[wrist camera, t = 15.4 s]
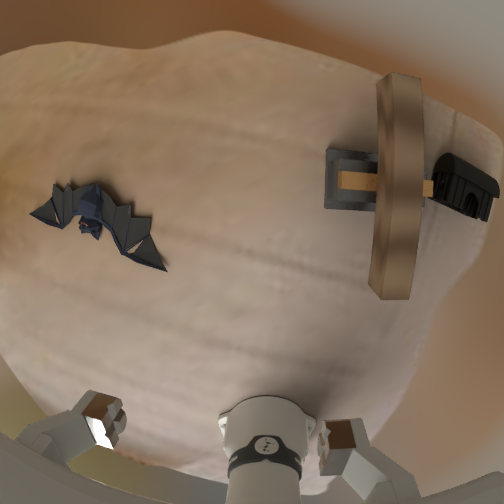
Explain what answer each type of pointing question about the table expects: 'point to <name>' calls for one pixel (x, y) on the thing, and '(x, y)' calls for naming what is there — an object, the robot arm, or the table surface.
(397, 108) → the walnut beam
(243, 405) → the robot arm
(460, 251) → the table surface
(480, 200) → the end cap
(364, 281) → the table surface
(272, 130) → the table surface
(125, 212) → the decorative bat
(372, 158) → the fulcrum stand
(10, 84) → the table surface
